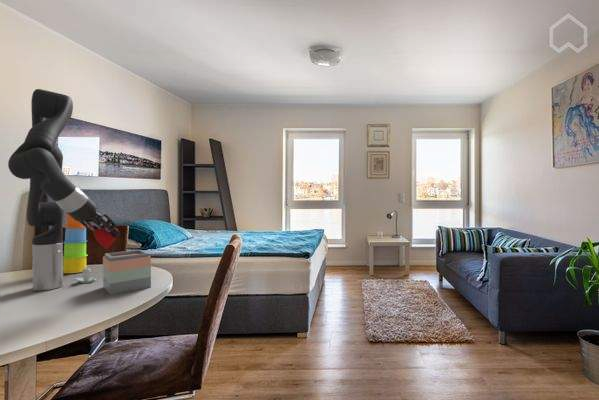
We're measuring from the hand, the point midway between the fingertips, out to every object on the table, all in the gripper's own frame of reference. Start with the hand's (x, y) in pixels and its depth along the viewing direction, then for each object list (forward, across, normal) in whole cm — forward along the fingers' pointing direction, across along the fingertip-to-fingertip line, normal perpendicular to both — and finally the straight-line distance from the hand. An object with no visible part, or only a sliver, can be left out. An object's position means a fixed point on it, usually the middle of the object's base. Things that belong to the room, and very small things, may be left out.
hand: (110, 235), depth 111 cm
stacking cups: (+28, +50, +4) cm, 57 cm away
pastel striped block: (+23, +5, +8) cm, 25 cm away
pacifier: (+22, +27, +10) cm, 36 cm away
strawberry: (+2, 0, +4) cm, 5 cm away
